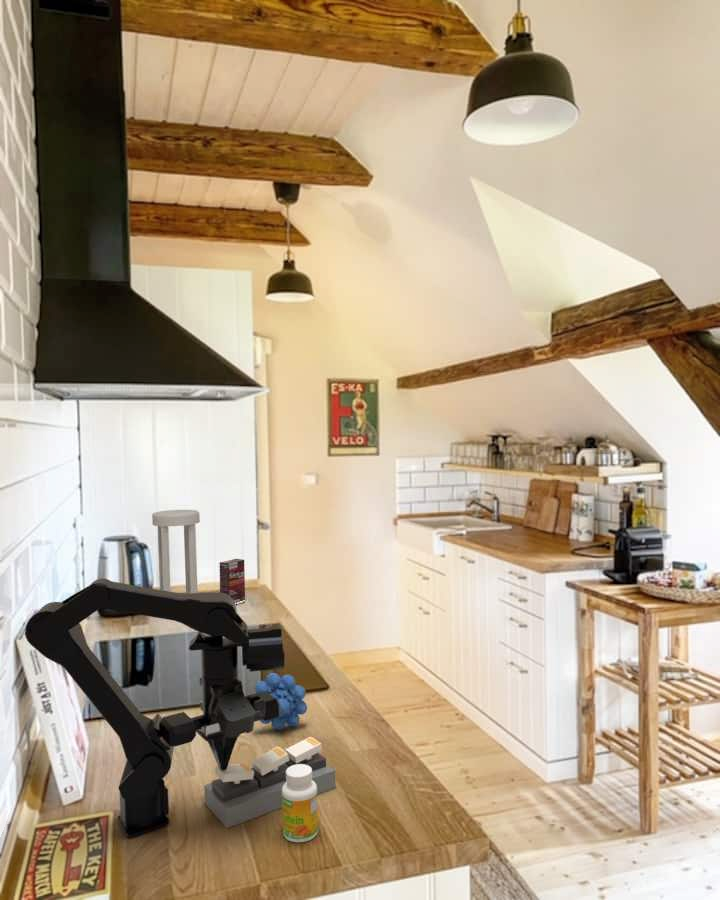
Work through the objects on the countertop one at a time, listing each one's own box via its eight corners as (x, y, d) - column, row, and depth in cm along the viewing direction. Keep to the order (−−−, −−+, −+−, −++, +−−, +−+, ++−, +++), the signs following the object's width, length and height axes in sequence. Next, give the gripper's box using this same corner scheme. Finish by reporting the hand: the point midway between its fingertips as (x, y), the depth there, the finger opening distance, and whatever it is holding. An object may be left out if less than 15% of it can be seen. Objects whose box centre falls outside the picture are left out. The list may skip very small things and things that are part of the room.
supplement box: (229, 608, 242) (228, 563, 241) (219, 606, 244) (218, 562, 244) (246, 602, 249) (244, 559, 249) (236, 601, 252) (235, 558, 251)
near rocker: (223, 785, 108) (224, 774, 108) (214, 776, 111) (216, 765, 111) (252, 782, 111) (254, 771, 111) (243, 773, 114) (244, 762, 114)
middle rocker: (262, 778, 112) (260, 768, 112) (253, 770, 115) (251, 760, 115) (290, 763, 115) (287, 753, 115) (280, 755, 118) (277, 745, 118)
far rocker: (297, 766, 116) (295, 756, 116) (287, 758, 119) (285, 748, 119) (322, 753, 119) (321, 743, 118) (312, 745, 122) (310, 736, 121)
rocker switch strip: (226, 828, 106) (225, 800, 106) (204, 803, 113) (203, 777, 113) (335, 787, 117) (334, 762, 117) (309, 767, 124) (308, 743, 124)
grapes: (255, 743, 135) (254, 683, 134) (250, 729, 141) (248, 672, 141) (313, 733, 138) (311, 674, 138) (304, 720, 145) (303, 664, 144)
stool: (158, 619, 228) (155, 515, 227) (153, 609, 242) (150, 511, 242) (205, 614, 234) (202, 512, 233) (197, 604, 248) (194, 508, 248)
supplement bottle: (276, 839, 102) (274, 775, 102) (292, 820, 107) (290, 759, 107) (309, 846, 100) (307, 781, 100) (324, 826, 105) (322, 764, 105)
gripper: (181, 703, 98) (184, 810, 98) (295, 674, 108) (298, 771, 109) (156, 681, 107) (159, 779, 107) (264, 656, 118) (266, 746, 118)
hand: (223, 769), depth 110 cm, fingers closed
